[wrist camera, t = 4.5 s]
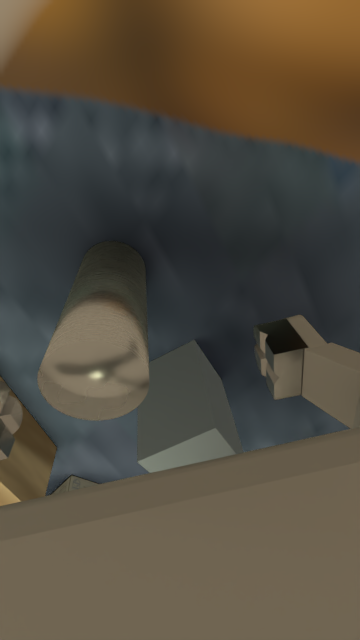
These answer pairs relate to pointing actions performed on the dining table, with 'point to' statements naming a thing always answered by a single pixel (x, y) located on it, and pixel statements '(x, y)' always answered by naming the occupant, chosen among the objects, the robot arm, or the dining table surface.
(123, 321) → the steel peg
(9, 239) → the dining table surface
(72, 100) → the dining table surface
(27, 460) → the socket block
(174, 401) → the square bit
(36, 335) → the dining table surface
